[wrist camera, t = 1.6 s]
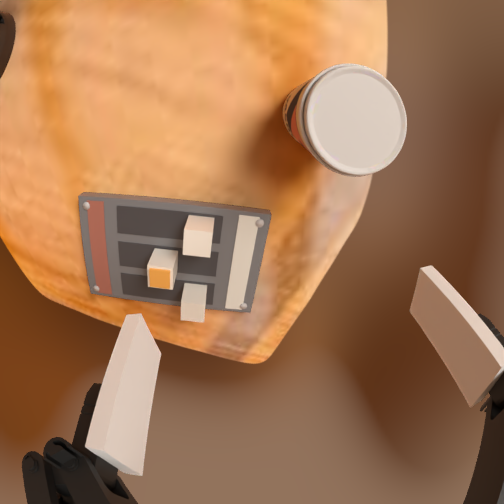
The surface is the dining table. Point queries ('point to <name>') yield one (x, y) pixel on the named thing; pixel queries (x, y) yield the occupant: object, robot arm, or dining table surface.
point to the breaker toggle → (162, 268)
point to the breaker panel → (174, 238)
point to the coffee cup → (347, 119)
